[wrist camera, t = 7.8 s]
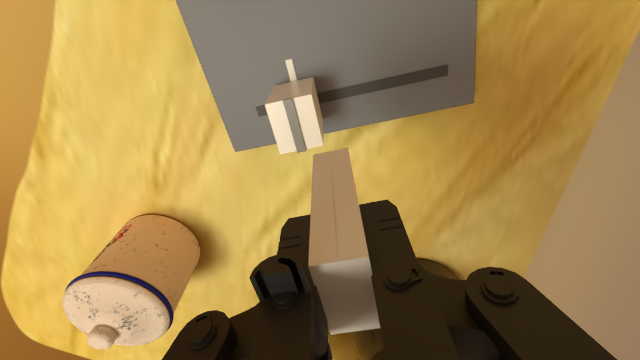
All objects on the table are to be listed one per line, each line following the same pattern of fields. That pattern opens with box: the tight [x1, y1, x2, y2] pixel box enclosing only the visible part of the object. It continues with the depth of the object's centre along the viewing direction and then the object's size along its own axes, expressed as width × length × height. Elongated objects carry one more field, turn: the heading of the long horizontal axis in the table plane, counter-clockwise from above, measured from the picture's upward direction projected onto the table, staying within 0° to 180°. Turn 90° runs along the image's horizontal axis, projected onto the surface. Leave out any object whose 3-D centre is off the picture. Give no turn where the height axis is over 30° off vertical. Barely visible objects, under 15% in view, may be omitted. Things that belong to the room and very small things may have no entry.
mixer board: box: [176, 0, 477, 152], centre depth 23 cm, size 16×20×2 cm
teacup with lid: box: [63, 215, 200, 350], centre depth 30 cm, size 12×9×12 cm
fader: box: [265, 77, 323, 154], centre depth 22 cm, size 4×3×5 cm
